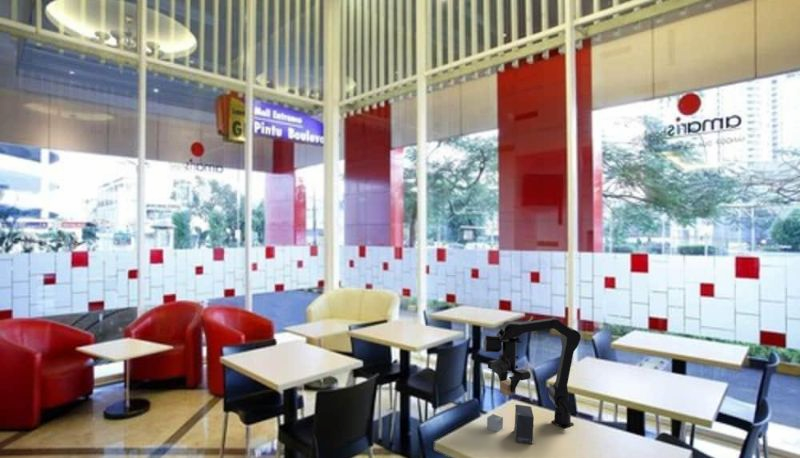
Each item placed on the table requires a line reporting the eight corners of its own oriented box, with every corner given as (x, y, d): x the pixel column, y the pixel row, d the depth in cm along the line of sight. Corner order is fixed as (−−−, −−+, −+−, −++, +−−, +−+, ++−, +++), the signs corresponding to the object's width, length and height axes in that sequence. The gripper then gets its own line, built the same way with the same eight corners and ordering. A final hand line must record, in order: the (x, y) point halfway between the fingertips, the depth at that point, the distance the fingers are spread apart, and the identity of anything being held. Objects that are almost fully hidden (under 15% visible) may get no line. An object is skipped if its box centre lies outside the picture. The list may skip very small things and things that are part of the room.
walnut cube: (507, 390, 186) (507, 379, 186) (515, 393, 182) (515, 382, 182) (499, 392, 184) (500, 381, 184) (507, 395, 180) (508, 384, 180)
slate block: (492, 425, 180) (492, 414, 180) (502, 428, 177) (503, 417, 177) (486, 428, 176) (487, 417, 176) (497, 432, 173) (497, 420, 173)
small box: (533, 445, 164) (534, 416, 164) (515, 442, 165) (516, 414, 165) (530, 432, 174) (531, 405, 174) (513, 430, 175) (514, 403, 175)
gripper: (478, 349, 186) (477, 386, 186) (513, 361, 171) (511, 401, 171) (497, 346, 193) (496, 382, 193) (532, 357, 177) (530, 396, 177)
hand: (507, 390), depth 183 cm, fingers closed on walnut cube, 4 cm apart
